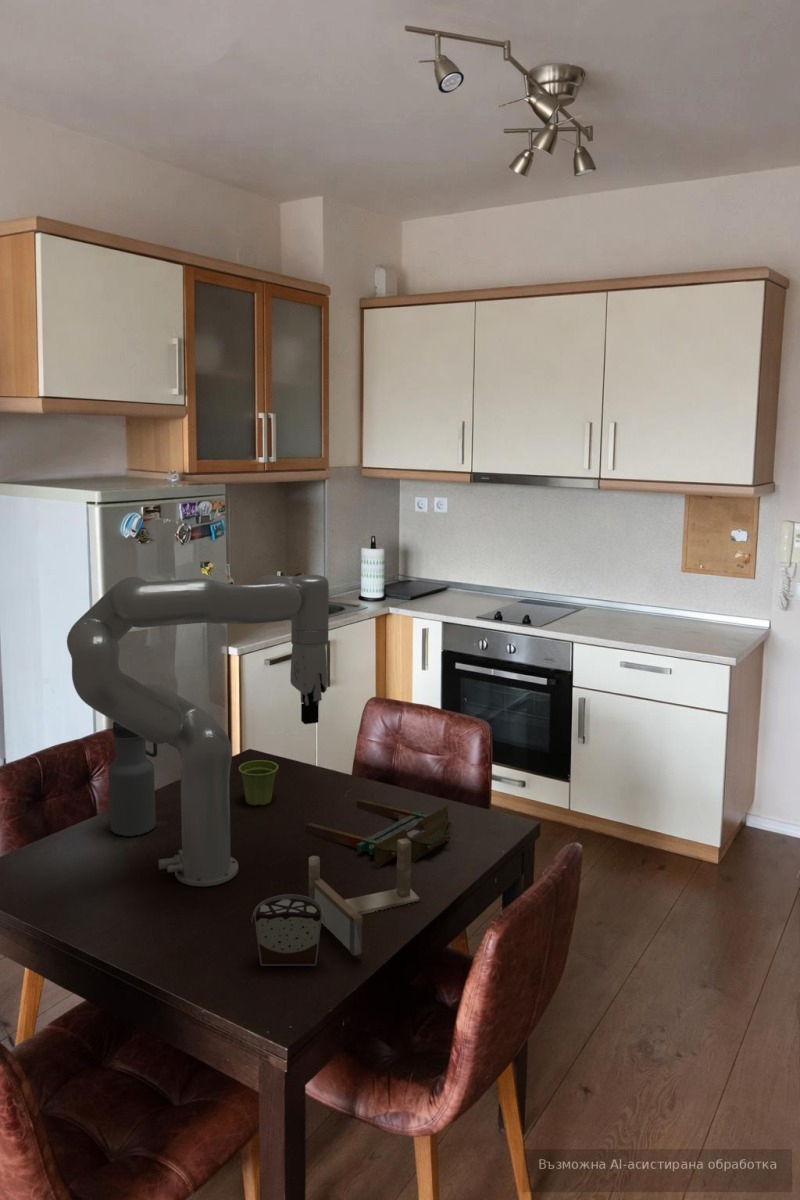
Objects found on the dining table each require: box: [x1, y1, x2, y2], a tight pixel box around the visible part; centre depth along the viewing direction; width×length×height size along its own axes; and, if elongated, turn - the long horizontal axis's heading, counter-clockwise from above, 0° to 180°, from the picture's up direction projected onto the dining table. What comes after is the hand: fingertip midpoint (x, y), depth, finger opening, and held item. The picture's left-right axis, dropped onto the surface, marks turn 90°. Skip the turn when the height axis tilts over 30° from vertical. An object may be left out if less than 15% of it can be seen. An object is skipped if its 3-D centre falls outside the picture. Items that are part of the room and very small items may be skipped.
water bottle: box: [107, 721, 158, 837], centre depth 204 cm, size 10×10×28 cm
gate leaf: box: [313, 878, 364, 957], centre depth 162 cm, size 15×2×7 cm, turn 32°
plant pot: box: [238, 759, 279, 806], centre depth 222 cm, size 9×9×9 cm
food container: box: [250, 893, 325, 967], centre depth 157 cm, size 12×6×10 cm, turn 92°
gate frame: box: [308, 838, 421, 925], centre depth 173 cm, size 24×5×12 cm, turn 115°
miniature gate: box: [305, 798, 452, 869], centre depth 205 cm, size 27×6×30 cm
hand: (309, 722), depth 191 cm, fingers closed
